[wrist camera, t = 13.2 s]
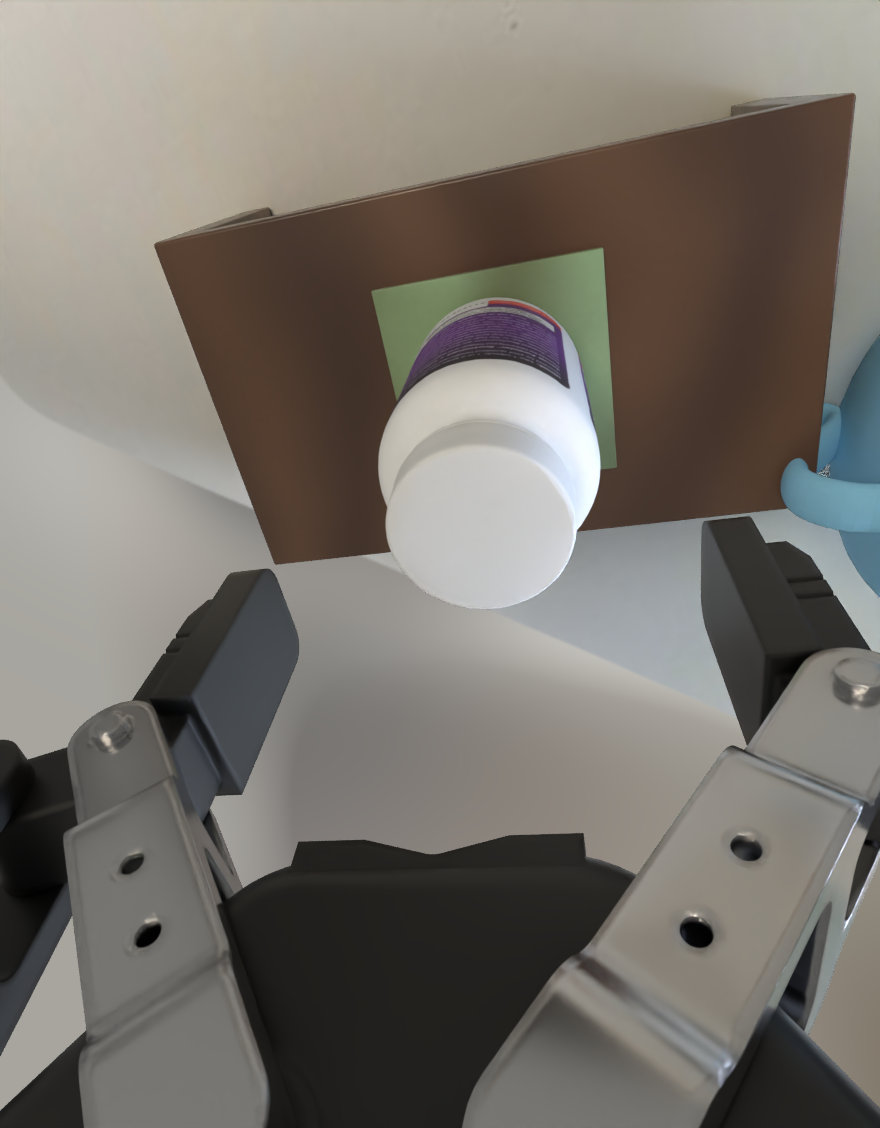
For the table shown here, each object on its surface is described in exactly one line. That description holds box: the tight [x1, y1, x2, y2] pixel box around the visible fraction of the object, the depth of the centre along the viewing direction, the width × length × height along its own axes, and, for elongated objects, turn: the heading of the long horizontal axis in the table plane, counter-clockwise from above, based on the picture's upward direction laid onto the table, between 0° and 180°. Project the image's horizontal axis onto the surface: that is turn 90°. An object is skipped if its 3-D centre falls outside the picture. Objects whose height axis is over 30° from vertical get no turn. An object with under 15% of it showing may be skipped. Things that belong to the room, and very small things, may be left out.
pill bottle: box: [378, 297, 600, 609], centre depth 18 cm, size 5×5×10 cm
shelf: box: [154, 93, 856, 564], centre depth 26 cm, size 20×12×8 cm, turn 101°
